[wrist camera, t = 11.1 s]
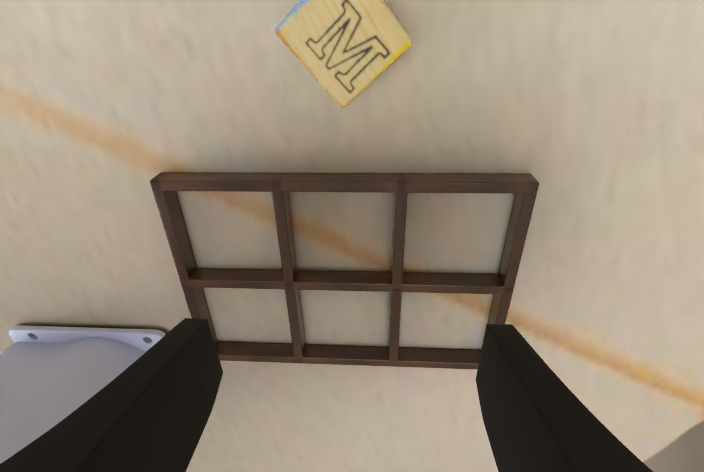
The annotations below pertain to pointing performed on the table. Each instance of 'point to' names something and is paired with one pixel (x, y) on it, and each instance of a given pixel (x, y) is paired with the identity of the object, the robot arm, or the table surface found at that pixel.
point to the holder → (340, 280)
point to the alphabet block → (344, 42)
